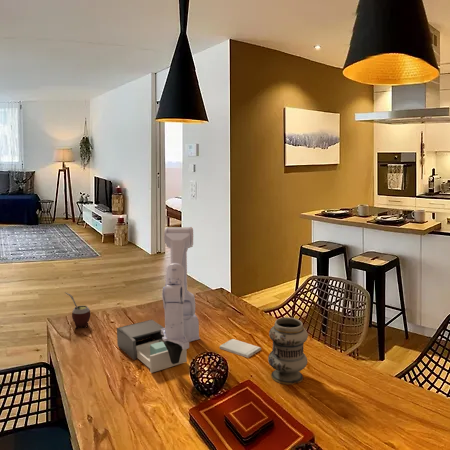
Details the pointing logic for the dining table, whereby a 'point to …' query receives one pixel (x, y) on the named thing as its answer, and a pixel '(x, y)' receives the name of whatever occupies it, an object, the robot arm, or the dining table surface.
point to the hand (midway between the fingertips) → (175, 362)
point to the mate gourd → (80, 315)
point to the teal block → (157, 348)
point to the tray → (157, 357)
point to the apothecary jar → (287, 350)
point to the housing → (137, 335)
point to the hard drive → (240, 348)
